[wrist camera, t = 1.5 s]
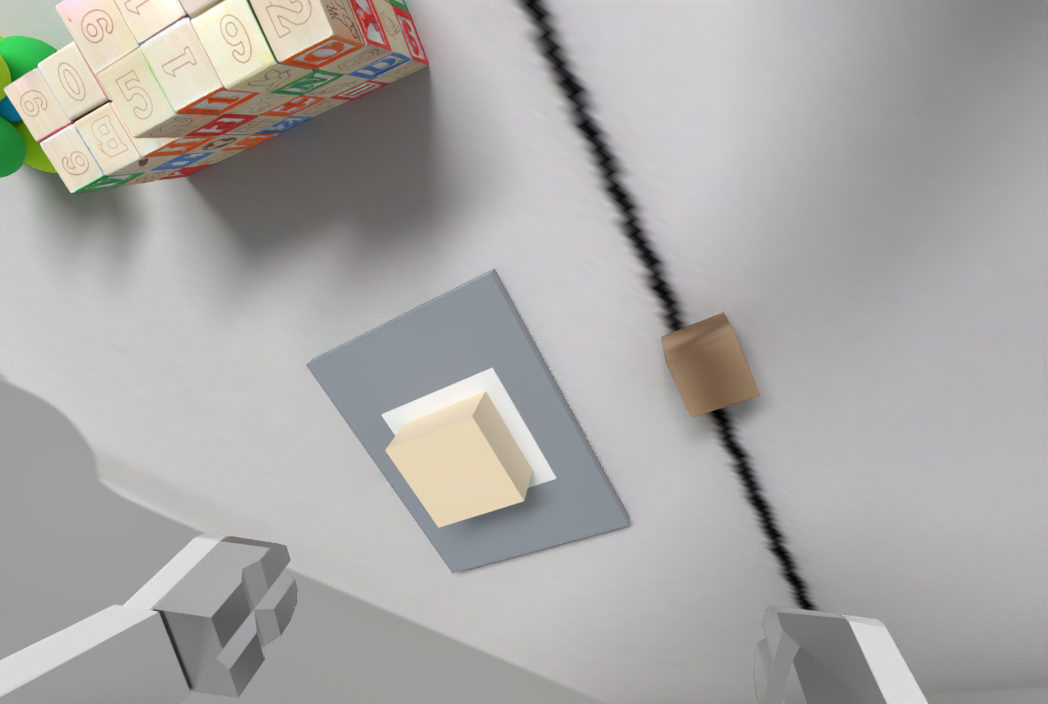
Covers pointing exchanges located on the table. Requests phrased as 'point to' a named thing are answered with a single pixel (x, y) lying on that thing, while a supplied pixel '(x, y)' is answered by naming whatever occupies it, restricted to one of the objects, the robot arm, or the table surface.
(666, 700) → the table surface
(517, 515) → the board
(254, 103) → the stack of blocks
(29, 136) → the molecule model
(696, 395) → the walnut cube
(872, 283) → the table surface
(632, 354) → the table surface
